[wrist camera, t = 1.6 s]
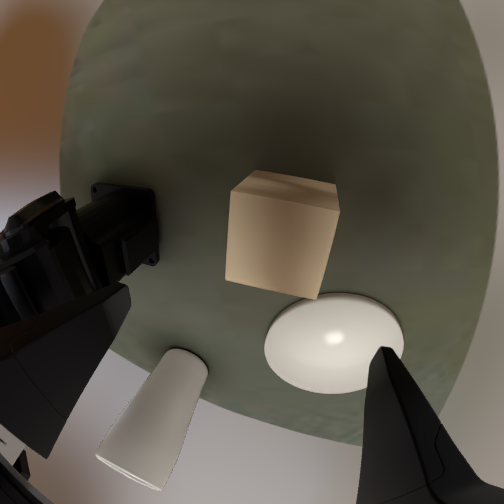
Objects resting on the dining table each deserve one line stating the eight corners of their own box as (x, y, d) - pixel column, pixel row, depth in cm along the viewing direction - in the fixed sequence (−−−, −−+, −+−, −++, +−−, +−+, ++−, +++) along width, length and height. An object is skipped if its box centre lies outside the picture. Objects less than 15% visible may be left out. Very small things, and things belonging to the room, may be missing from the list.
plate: (259, 372, 26) (257, 380, 25) (278, 278, 20) (275, 285, 19) (369, 392, 24) (370, 399, 23) (425, 307, 18) (427, 315, 17)
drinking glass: (209, 347, 26) (143, 480, 13) (220, 385, 29) (172, 497, 16) (153, 336, 28) (80, 445, 15) (170, 373, 31) (115, 470, 18)
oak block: (248, 239, 19) (225, 280, 15) (255, 169, 17) (230, 191, 12) (319, 254, 18) (316, 300, 14) (335, 184, 16) (339, 211, 12)
